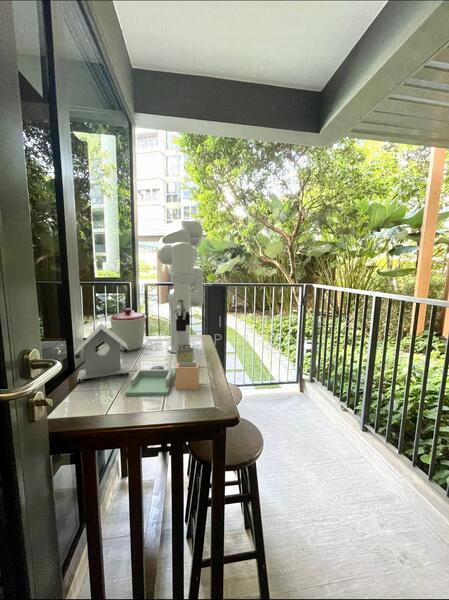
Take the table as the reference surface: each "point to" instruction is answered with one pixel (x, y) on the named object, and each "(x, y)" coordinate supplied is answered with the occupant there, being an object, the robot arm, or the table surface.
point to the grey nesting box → (102, 363)
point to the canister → (129, 328)
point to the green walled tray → (151, 382)
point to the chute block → (187, 376)
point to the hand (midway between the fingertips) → (183, 327)
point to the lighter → (184, 354)
